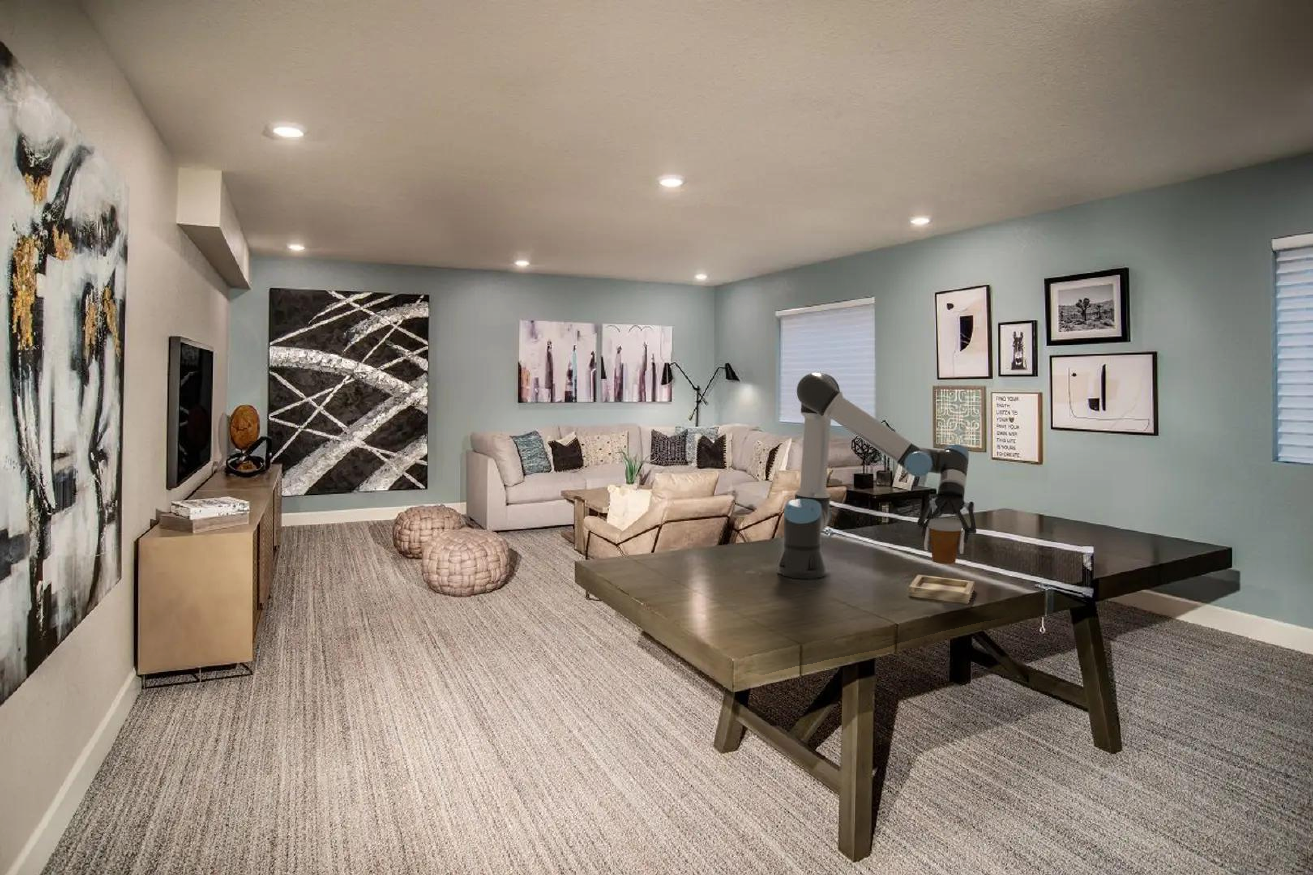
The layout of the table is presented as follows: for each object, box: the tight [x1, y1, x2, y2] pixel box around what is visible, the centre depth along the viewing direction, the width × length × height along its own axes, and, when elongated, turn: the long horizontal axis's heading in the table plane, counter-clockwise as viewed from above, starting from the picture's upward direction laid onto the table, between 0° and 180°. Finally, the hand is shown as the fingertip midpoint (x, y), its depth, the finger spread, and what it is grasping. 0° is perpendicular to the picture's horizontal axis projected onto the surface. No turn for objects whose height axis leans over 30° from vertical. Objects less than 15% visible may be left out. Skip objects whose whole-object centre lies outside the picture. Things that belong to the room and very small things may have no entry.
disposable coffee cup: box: [928, 517, 963, 565], centre depth 217 cm, size 10×10×12 cm
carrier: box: [908, 574, 975, 605], centre depth 218 cm, size 16×16×3 cm
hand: (943, 549), depth 214 cm, fingers closed on disposable coffee cup, 9 cm apart
